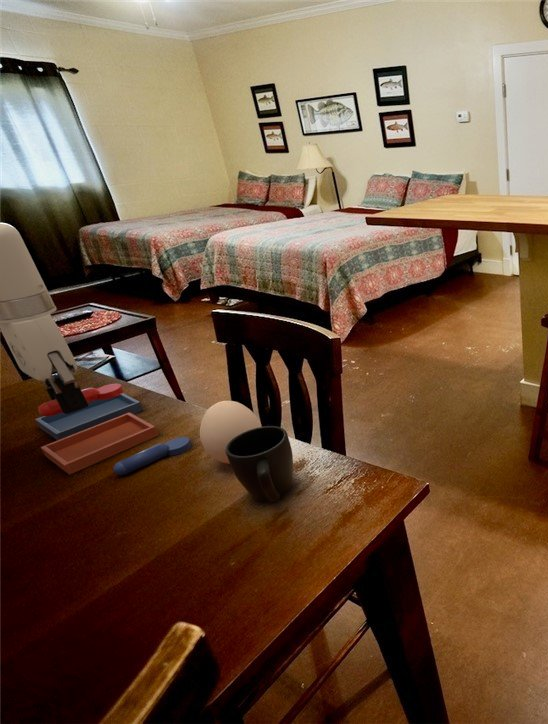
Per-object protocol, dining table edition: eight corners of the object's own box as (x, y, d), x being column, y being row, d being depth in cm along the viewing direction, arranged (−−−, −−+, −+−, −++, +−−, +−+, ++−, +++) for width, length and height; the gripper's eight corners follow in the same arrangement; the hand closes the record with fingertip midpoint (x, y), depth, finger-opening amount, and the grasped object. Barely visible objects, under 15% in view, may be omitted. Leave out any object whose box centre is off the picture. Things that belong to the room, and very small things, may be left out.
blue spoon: (122, 481, 77) (116, 470, 76) (111, 474, 79) (105, 462, 78) (196, 446, 86) (191, 435, 85) (184, 439, 88) (180, 429, 87)
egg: (279, 447, 85) (263, 392, 80) (243, 478, 78) (223, 419, 73) (238, 442, 87) (219, 387, 82) (199, 472, 79) (175, 414, 74)
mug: (244, 532, 67) (224, 479, 63) (242, 484, 76) (225, 435, 72) (307, 511, 71) (292, 459, 67) (298, 467, 80) (284, 420, 76)
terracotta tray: (69, 474, 79) (64, 465, 78) (45, 456, 83) (40, 447, 82) (158, 435, 89) (155, 426, 88) (133, 420, 94) (129, 412, 93)
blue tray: (60, 443, 87) (56, 434, 86) (39, 427, 91) (34, 419, 91) (143, 410, 97) (140, 401, 96) (120, 397, 102) (117, 389, 101)
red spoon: (47, 422, 77) (40, 409, 76) (38, 415, 79) (31, 403, 78) (128, 392, 86) (122, 380, 85) (118, 387, 88) (112, 375, 87)
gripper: (-32, 305, 74) (26, 406, 82) (4, 323, 66) (64, 431, 75) (32, 292, 80) (80, 387, 88) (72, 307, 72) (120, 409, 80)
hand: (72, 407), depth 81 cm, fingers closed on red spoon, 2 cm apart
